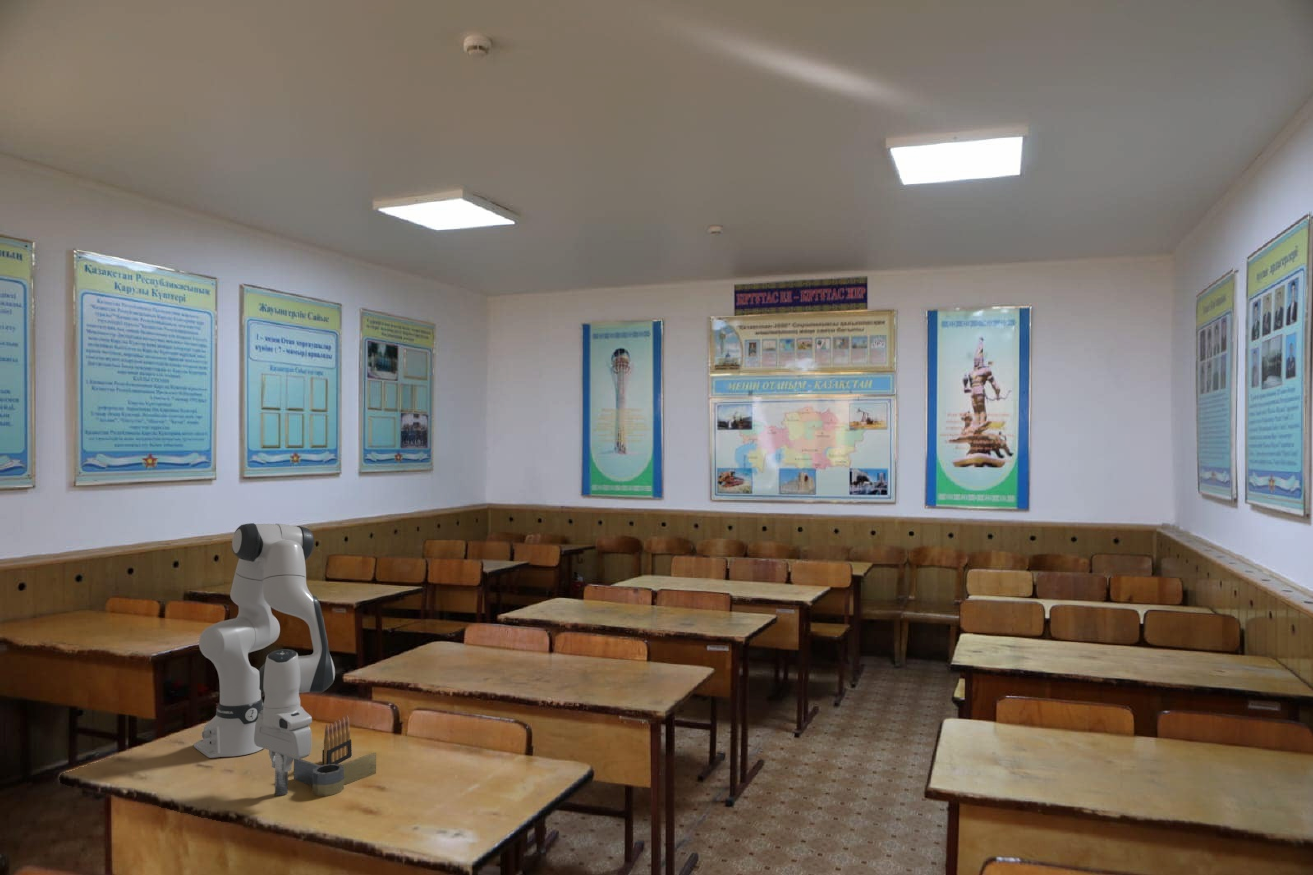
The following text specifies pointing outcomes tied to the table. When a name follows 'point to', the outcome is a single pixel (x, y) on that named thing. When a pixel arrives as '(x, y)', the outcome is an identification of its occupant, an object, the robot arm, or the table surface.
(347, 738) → the ammunition clip
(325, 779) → the steel leaf
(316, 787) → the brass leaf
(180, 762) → the table surface
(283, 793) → the hinge pin
